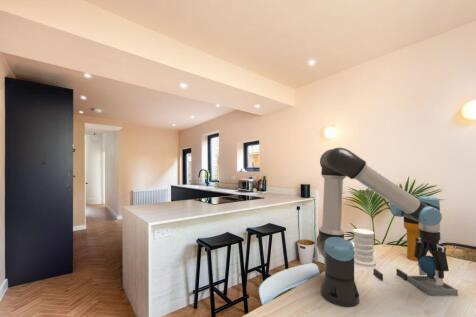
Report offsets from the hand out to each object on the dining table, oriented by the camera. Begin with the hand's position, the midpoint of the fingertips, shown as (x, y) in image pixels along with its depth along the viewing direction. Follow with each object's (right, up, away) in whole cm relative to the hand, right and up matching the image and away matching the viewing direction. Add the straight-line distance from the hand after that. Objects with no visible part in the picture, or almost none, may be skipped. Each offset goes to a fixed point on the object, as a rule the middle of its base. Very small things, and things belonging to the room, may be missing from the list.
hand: (430, 279), depth 103 cm
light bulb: (0, -2, 0) cm, 2 cm away
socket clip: (-13, -4, +9) cm, 16 cm away
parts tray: (0, -4, 0) cm, 4 cm away
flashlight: (+18, -5, +32) cm, 38 cm away
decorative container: (-16, -5, +27) cm, 32 cm away
